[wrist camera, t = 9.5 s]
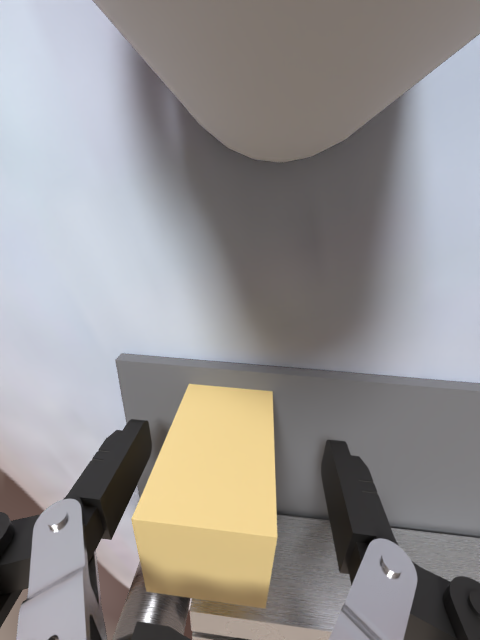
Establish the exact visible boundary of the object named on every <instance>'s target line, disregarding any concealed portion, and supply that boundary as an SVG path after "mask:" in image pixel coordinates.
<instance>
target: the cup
mask: <svg viewBox="0 0 480 640" xmlns="http://www.w3.org/2000/svg"><path fill="white" fill-rule="evenodd" d="M93 2H94V3H95V4H96V5H97V6H98V7H99V8H100V10H101V11H102V12H103V13H104V14H105V15H106V17H107V18H108V19H109V20H110V21H111V22H112V24H113V25H114V26H115V27H116V28H117V29H118V30H119V32H120V33H121V34H122V35H123V36H124V37H125V39H126V40H127V41H128V42H129V43H130V44H131V46H132V47H133V48H134V49H135V50H136V51H137V53H138V54H139V55H140V56H141V57H142V58H143V59H144V61H145V62H146V63H147V64H148V65H149V66H150V68H151V69H152V70H153V71H154V72H155V73H156V75H157V76H158V77H159V78H160V79H161V80H162V81H163V83H164V84H165V85H166V86H167V87H168V88H169V90H170V91H171V92H172V93H173V94H174V95H175V97H176V98H177V99H178V100H179V101H180V102H181V103H182V105H183V106H184V107H185V108H186V109H187V110H188V112H189V113H190V114H191V115H192V116H193V117H194V119H195V120H196V121H197V122H198V123H199V124H200V125H201V126H202V127H203V128H204V129H205V130H207V131H208V132H209V133H210V134H211V135H213V136H214V137H215V138H216V139H217V140H219V141H220V142H221V143H222V144H223V145H225V146H226V147H227V148H229V149H231V150H233V151H235V152H238V153H240V154H243V155H245V156H247V157H250V158H252V159H254V160H262V161H271V162H280V163H283V162H288V161H293V160H298V159H303V158H308V157H312V156H314V155H316V154H318V153H320V152H322V151H324V150H326V149H328V148H330V147H332V146H334V145H336V144H338V143H340V142H342V141H344V140H345V139H347V138H348V137H349V136H351V135H352V134H353V133H354V132H356V131H357V130H358V129H359V128H361V127H362V126H363V125H365V124H366V123H367V122H368V121H370V120H371V119H372V118H373V117H375V116H376V115H377V114H378V113H380V112H381V111H382V110H384V109H385V108H386V107H387V106H389V105H390V104H391V103H392V102H394V101H395V100H396V99H398V98H399V97H400V96H401V95H403V94H404V93H405V92H406V91H408V90H409V89H410V88H412V87H413V86H414V85H415V84H417V83H418V82H419V81H420V80H422V79H423V78H424V77H426V76H427V75H428V74H429V73H431V72H432V71H433V70H434V69H436V68H437V67H438V66H439V65H441V64H442V63H443V62H445V61H446V60H447V59H448V58H450V57H451V56H452V55H453V54H455V53H456V52H457V51H459V50H460V49H461V48H462V47H464V46H465V45H466V44H467V43H469V42H470V41H471V40H473V39H474V38H475V37H476V36H478V35H479V34H480V0H93Z"/></svg>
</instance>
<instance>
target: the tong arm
mask: <svg viewBox="0 0 480 640" xmlns="http://www.w3.org/2000/svg"><path fill="white" fill-rule="evenodd" d="M391 529H392V532H393V535H394V537H395V540H396V542H397V543H398V545H399V547H400V548H402V549H403V550H404V551H405V552H406V554H407V555H408V556H409V558H410V559H411V560H412V561H413V562H414V563H415V564H417V565H418V566H420V567H421V568H423V569H425V570H427V571H429V572H431V573H433V574H435V575H438V576H440V577H442V578H444V579H446V580H448V581H450V582H451V581H452V580H453V579H454V578H455V577H458V576H464V577H468V578H471V579H473V580H475V581H477V582H479V583H480V538H474V537H465V536H457V535H448V534H439V533H431V532H422V531H414V530H405V529H397V528H391ZM350 588H351V581H350V576H349V574H344V573H339V567H338V562H337V557H336V552H335V546H334V541H333V536H332V531H331V525H330V521H329V520H320V519H312V518H303V517H295V516H286V515H277V543H276V549H275V555H274V561H273V567H272V573H271V579H270V585H269V591H268V597H267V603H266V609H265V608H258V607H251V606H244V605H237V604H230V603H223V602H216V601H209V600H202V599H195V598H192V602H191V607H190V619H191V630H192V631H195V632H202V633H209V634H215V635H222V636H229V637H235V638H243V639H250V640H329V638H330V635H331V633H332V630H333V628H334V626H335V623H336V621H337V619H338V616H339V614H340V611H341V609H342V607H343V605H344V603H345V600H346V598H347V595H348V593H349V591H350Z"/></svg>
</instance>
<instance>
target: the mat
mask: <svg viewBox="0 0 480 640" xmlns="http://www.w3.org/2000/svg"><path fill="white" fill-rule="evenodd" d="M115 361H116V366H117V372H118V378H119V383H120V389H121V395H122V400H123V406H124V412H125V417H126V423H128V421H129V420H131V419H137V420H147V421H148V422H149V427H150V434H151V441H152V450H151V455H150V458H149V460H148V462H147V465H146V467H145V469H144V471H143V473H142V475H141V477H140V479H139V482H138V484H137V485H138V491H139V497H140V498H141V495H142V493H143V491H144V488H145V486H146V484H147V481H148V479H149V477H150V474H151V472H152V469H153V467H154V465H155V462H156V460H157V458H158V455H159V453H160V451H161V448H162V446H163V444H164V441H165V439H166V437H167V434H168V432H169V429H170V427H171V425H172V422H173V420H174V418H175V415H176V413H177V411H178V408H179V406H180V404H181V401H182V399H183V397H184V394H185V392H186V389H187V387H188V385H189V384H196V385H208V386H219V387H230V388H241V389H252V390H263V391H273V420H274V450H275V480H276V510H277V515H286V516H295V517H303V518H312V519H320V520H329V515H328V510H327V504H326V499H325V494H324V489H323V483H322V477H321V463H322V459H323V454H324V450H325V445H326V441H327V440H338V441H345V442H346V443H347V445H348V448H349V451H350V454H351V455H353V456H359V457H360V458H361V459H362V460H363V462H364V463H365V464H366V465H367V467H368V468H369V471H370V473H371V476H372V479H373V483H374V484H375V487H376V489H377V494H378V495H379V497H380V500H381V503H382V505H383V508H384V511H385V513H386V516H387V519H388V521H389V524H390V527H391V528H397V529H405V530H414V531H422V532H431V533H439V534H448V535H457V536H465V537H474V538H480V383H468V382H456V381H444V380H432V379H420V378H408V377H396V376H384V375H372V374H361V373H349V372H337V371H325V370H313V369H301V368H289V367H277V366H265V365H253V364H241V363H229V362H217V361H205V360H193V359H181V358H169V357H158V356H146V355H134V354H121V355H120V356H119V357H118V358H117V359H116V360H115ZM329 521H330V520H329Z"/></svg>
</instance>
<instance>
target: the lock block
mask: <svg viewBox="0 0 480 640" xmlns="http://www.w3.org/2000/svg"><path fill="white" fill-rule="evenodd" d="M131 520H132V525H133V529H134V534H135V539H136V544H137V549H138V554H139V558H140V563H141V568H142V573H143V578H144V582H145V587H146V592H153V593H160V594H167V595H174V596H181V597H188V598H195V599H202V600H209V601H216V602H223V603H230V604H237V605H244V606H251V607H258V608H265V609H266V603H267V597H268V591H269V585H270V579H271V573H272V567H273V561H274V555H275V549H276V543H277V510H276V480H275V450H274V420H273V391H263V390H252V389H241V388H230V387H219V386H208V385H196V384H189V385H188V387H187V389H186V392H185V394H184V397H183V399H182V401H181V404H180V406H179V408H178V411H177V413H176V415H175V418H174V420H173V422H172V425H171V427H170V429H169V432H168V434H167V437H166V439H165V441H164V444H163V446H162V448H161V451H160V453H159V455H158V458H157V460H156V462H155V465H154V467H153V469H152V472H151V474H150V477H149V479H148V481H147V484H146V486H145V488H144V491H143V493H142V495H141V498H140V500H139V502H138V505H137V507H136V510H135V512H134V514H133V517H132V519H131Z"/></svg>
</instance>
